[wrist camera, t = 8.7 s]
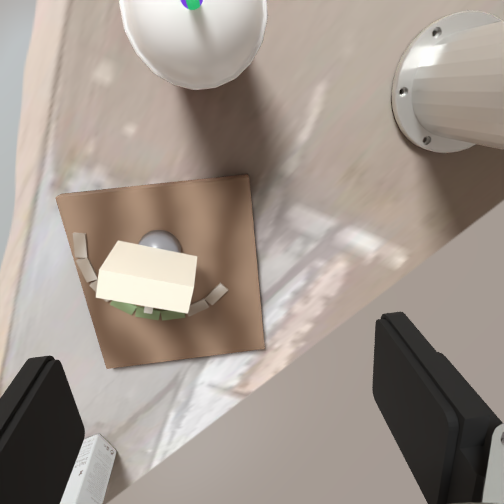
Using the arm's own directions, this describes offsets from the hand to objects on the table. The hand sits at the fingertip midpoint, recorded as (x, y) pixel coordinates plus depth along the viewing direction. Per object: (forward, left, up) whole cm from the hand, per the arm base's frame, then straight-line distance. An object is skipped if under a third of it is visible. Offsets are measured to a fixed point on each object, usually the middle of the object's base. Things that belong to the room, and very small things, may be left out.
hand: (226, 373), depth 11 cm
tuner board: (+7, +11, -30) cm, 33 cm away
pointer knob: (+8, +9, -29) cm, 31 cm away
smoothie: (0, -12, -31) cm, 33 cm away
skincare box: (+22, +36, -31) cm, 52 cm away
